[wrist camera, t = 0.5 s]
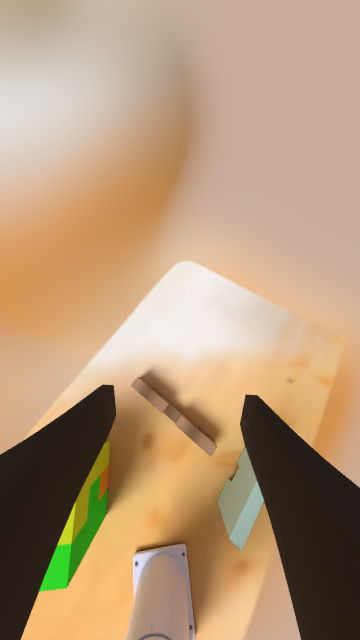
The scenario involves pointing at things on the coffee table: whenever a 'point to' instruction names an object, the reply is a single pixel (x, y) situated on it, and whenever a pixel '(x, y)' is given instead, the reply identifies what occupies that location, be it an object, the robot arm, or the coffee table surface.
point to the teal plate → (240, 502)
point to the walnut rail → (175, 416)
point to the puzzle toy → (80, 525)
